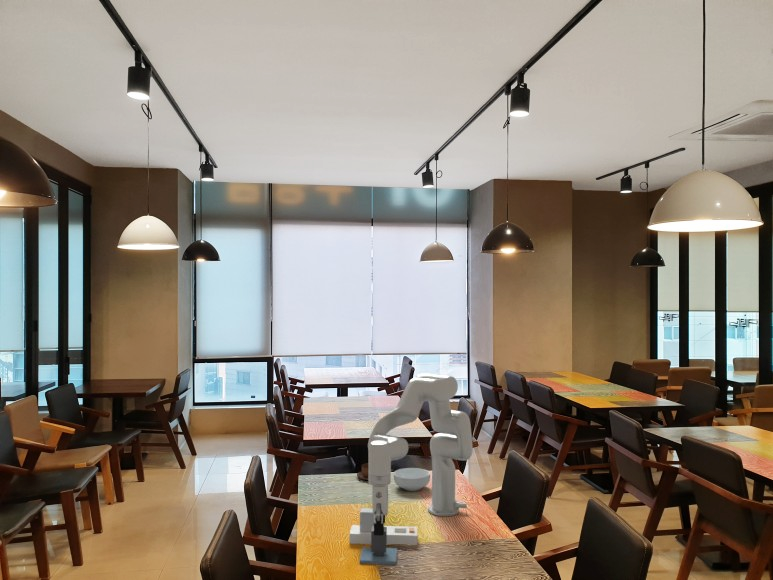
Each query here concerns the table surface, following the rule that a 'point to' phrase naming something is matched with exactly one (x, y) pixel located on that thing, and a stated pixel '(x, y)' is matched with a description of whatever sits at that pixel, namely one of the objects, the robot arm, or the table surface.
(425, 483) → the cereal bowl
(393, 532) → the power strip
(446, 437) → the robot arm
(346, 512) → the table surface
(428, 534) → the table surface
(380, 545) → the block
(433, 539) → the table surface
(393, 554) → the mat
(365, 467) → the cup and saucer
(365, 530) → the block
